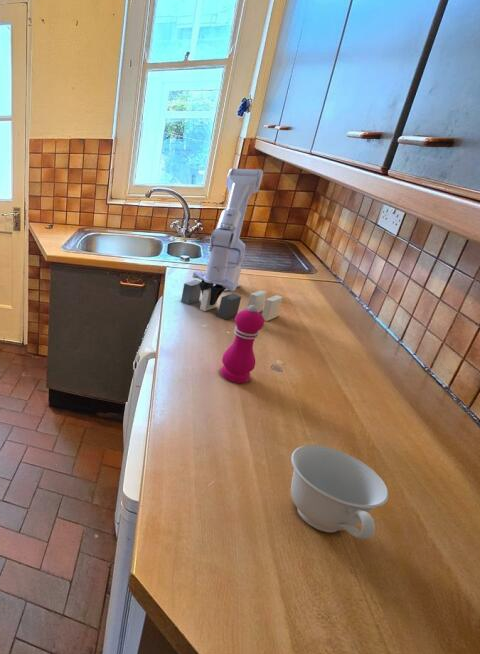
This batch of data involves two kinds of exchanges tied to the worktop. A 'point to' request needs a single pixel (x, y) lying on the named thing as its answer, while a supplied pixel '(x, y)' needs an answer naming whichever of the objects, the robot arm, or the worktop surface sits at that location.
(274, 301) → the white book
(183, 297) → the grey book
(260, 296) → the white book
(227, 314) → the grey book
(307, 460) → the teacup
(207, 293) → the white thin book
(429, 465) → the worktop surface
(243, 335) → the pepper mill
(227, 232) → the robot arm
